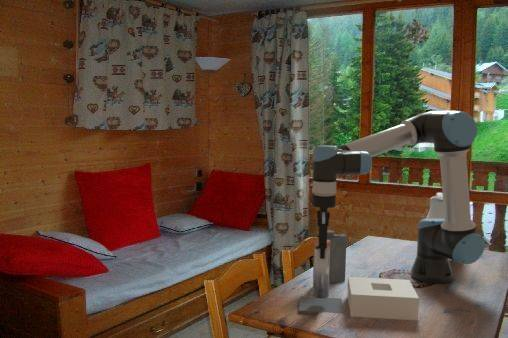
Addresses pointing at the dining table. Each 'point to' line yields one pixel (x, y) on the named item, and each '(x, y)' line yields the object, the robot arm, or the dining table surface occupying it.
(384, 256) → the dining table surface
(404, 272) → the dining table surface
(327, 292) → the steel plug
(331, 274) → the hip flask
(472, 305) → the dining table surface
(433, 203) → the pitcher
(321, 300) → the slate mat
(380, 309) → the bore block
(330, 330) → the dining table surface
